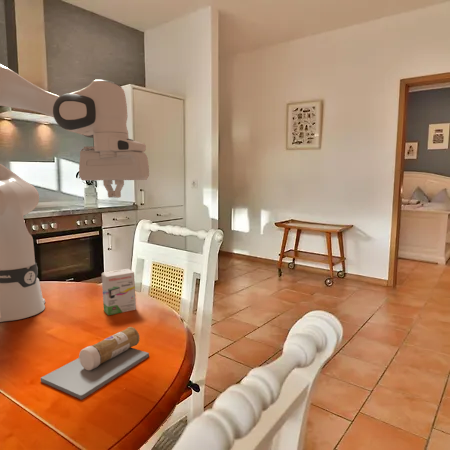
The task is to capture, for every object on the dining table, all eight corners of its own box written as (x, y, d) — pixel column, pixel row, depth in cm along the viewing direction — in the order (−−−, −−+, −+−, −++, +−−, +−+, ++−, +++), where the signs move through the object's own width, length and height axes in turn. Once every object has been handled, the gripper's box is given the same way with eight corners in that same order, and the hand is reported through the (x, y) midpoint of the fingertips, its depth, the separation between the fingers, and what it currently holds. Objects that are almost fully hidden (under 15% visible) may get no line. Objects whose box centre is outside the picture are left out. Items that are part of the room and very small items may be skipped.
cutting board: (110, 344, 88) (110, 341, 88) (149, 356, 82) (148, 353, 82) (40, 381, 72) (40, 377, 72) (81, 399, 66) (81, 395, 66)
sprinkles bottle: (136, 324, 85) (88, 347, 73) (143, 343, 84) (96, 369, 73) (123, 328, 87) (75, 351, 76) (130, 347, 87) (82, 372, 75)
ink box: (107, 316, 105) (105, 276, 104) (103, 310, 109) (101, 272, 108) (136, 309, 110) (134, 271, 108) (131, 304, 114) (129, 268, 112)
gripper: (71, 145, 97) (75, 197, 99) (137, 142, 90) (139, 198, 92) (88, 147, 103) (91, 196, 105) (151, 144, 96) (153, 197, 98)
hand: (114, 197), depth 99 cm, fingers closed
